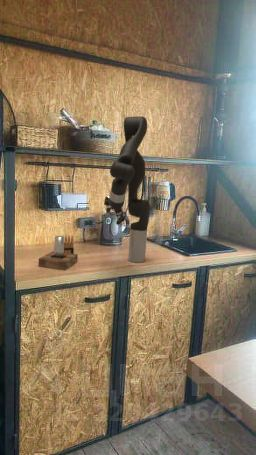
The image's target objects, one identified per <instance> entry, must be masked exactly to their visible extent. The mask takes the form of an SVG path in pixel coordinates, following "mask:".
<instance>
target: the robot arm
mask: <svg viewBox="0 0 256 455" xmlns="http://www.w3.org/2000/svg"><path fill="white" fill-rule="evenodd" d="M147 130H148V122H147V117H145V116H139V115H138V116H125V117H124V120H123V134H124V140H125V141H124V142H125V143H124V144H123V145H122V147H121V148H120V149H121V150H120V152H119V156H117V158H116V159H115V161H114V162H113V163H112V164H111V166H110V169H109V174H110V176H111V177H113V178H114V179H112V182H111V186H110V187H111V188H110V191H109V195H107V196H105V198H104V202H103V204H104V206H105V207H106V209H105V211H106V214H110V213H111V212H112V211H113V213H114V216H115V217H116V223H115V225H116V226H117V225H118V226H119V225H120V224H122V223H123V222H124V221H126V215H127V213H126V211H123V207H124V204H125V200H126V196H127V191H128V196H127V197H128V198H127V210H128V214H129V215H130V216H132V217H137V218H138V217H139V220H138V221H135V222H131V223H130V225H129V240H128V254H127V256H128V257H127V259H128V261H129V262H131V263H144V262H145V261H146V253H147V241H148V240H147V238H148V236H147V235H148V228H149V227H148V226H149V220H150V212H151V203H150V202H149V200H147V199H141V198H140V199H139V198H138V190H139V188H140V187H141V184H142V183H143V181H144V179H145V177H146V162H145V160H144V157H143V156H142V155H141V153H140V152H139V150H138V149H139V147H140V145H141V144H142V141H143V140H144V138H145V136H146V134H147ZM127 189H128V190H127Z"/></svg>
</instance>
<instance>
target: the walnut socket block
mask: <svg viewBox="0 0 256 455" xmlns="http://www.w3.org/2000/svg"><path fill="white" fill-rule="evenodd" d="M78 257H79V255H78V253H74V254H71V253H64V258H63V259H60V258H54V250H52V251H51V252H48V253H45V255H43V256H41V257H39V258H38V267H39V268H45V269H52V270H53V269H54V270H62V271H67V270H68V269H69V268H71V267H72V266H74V265H75V264H77V263H78Z"/></svg>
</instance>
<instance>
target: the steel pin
mask: <svg viewBox="0 0 256 455" xmlns="http://www.w3.org/2000/svg"><path fill="white" fill-rule="evenodd" d="M64 242H65V236H64V235H60V236H59V235H55V236H54V244H55V251H54V250H53V251H54V258H60V259H63V258H64Z"/></svg>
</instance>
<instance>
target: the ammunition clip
mask: <svg viewBox="0 0 256 455" xmlns="http://www.w3.org/2000/svg"><path fill="white" fill-rule="evenodd" d="M58 236H61V235H58ZM74 244H75V243H74V235H73V234H71V235H70V234H69V235H68V236H67V235H65V236H64V253H71V254H75V248H74V246H75V245H74ZM53 245H54V248H53V251H55V243H54V244H53Z"/></svg>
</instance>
